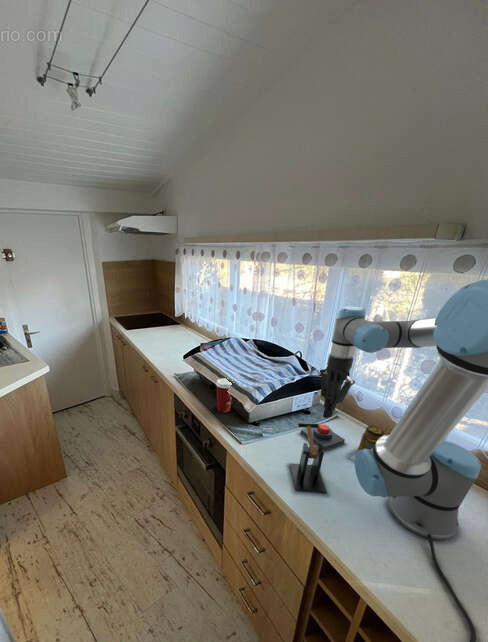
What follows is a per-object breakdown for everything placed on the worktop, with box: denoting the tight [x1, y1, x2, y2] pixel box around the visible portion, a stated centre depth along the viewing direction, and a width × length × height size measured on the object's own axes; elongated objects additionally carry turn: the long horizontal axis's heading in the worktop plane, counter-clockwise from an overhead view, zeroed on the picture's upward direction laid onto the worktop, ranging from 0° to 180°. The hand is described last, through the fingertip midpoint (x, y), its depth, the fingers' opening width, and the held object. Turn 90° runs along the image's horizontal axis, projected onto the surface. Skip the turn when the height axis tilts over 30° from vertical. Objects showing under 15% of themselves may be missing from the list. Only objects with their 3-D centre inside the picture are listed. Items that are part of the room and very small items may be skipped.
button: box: [318, 423, 330, 434], centre depth 115 cm, size 4×4×2 cm
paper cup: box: [215, 377, 233, 414], centre depth 134 cm, size 8×8×14 cm
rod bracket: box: [289, 442, 327, 494], centre depth 95 cm, size 12×9×13 cm
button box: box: [300, 423, 346, 451], centre depth 116 cm, size 12×10×4 cm
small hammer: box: [297, 422, 319, 460], centre depth 96 cm, size 12×6×2 cm, turn 172°
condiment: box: [355, 425, 385, 454], centre depth 104 cm, size 7×8×12 cm
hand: (327, 416), depth 112 cm, fingers closed
